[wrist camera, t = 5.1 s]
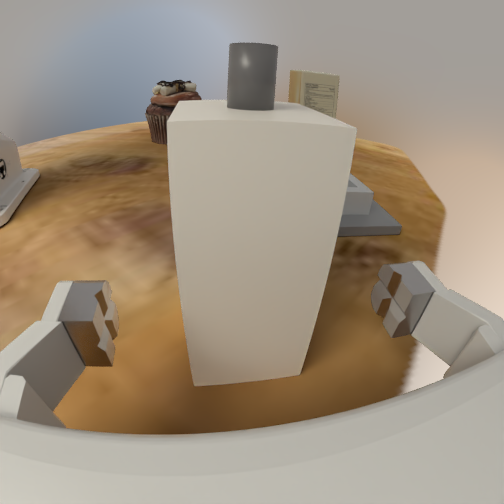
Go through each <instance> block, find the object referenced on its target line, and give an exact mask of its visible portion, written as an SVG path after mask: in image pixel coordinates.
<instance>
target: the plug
mask: <svg viewBox="0 0 504 504" xmlns="http://www.w3.org/2000/svg"><path fill="white" fill-rule="evenodd" d="M277 55H278V46H276V45H270V44H262V43H232V44H230V47H229V68H228V90H227V100H189V101H179V102H178V104H177V105H176V107H175V109H174V110H173V112H172V114H171V115H170V117H169V119H168V121H167V146H168V169H169V187H170V202H171V215H172V227H173V239H174V249H175V259H176V268H177V277H178V285H179V293H180V301H181V308H182V316H183V323H184V330H185V336H186V343H187V349H188V355H189V361H190V367H191V372H192V378H193V383H194V386H208V385H222V384H233V383H243V382H252V381H261V380H269V379H276V378H283V377H290V376H296V375H300V373H301V370H302V367H303V363H304V360H305V357H306V354H307V350H308V347H309V344H310V340H311V337H312V333H313V330H314V326H315V323H316V319H317V316H318V312H319V308H320V305H321V301H322V297H323V293H324V289H325V285H326V281H327V277H328V273H329V269H330V265H331V261H332V257H333V253H334V248H335V244H336V239H337V235H338V230H339V226H340V221H341V216H342V211H343V206H344V201H345V196H346V191H347V186H348V180H349V175H350V169H351V164H352V158H353V152H354V146H355V139H356V133H357V128H355V127H353V126H351V125H348V124H346V123H344V122H342V121H339V120H337V119H335V118H332V117H330V116H328V115H325V114H323V113H320V112H318V111H316V110H313V109H310V108H308V107H305V106H303V105H300V104H297V103H289V102H274V98H275V97H274V96H275V84H276V70H277Z"/></svg>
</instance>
